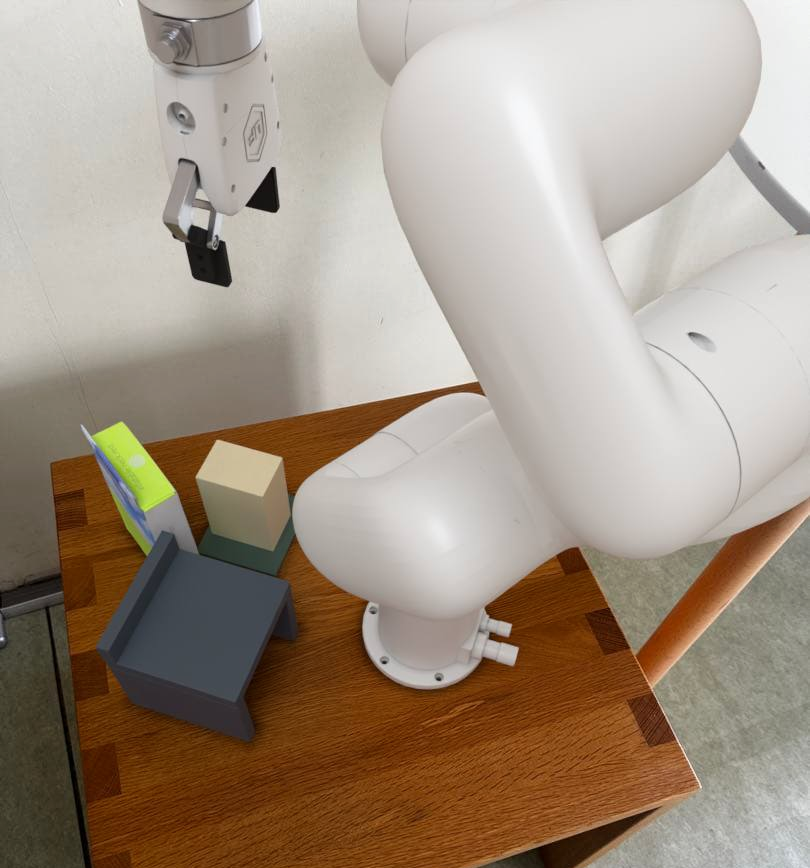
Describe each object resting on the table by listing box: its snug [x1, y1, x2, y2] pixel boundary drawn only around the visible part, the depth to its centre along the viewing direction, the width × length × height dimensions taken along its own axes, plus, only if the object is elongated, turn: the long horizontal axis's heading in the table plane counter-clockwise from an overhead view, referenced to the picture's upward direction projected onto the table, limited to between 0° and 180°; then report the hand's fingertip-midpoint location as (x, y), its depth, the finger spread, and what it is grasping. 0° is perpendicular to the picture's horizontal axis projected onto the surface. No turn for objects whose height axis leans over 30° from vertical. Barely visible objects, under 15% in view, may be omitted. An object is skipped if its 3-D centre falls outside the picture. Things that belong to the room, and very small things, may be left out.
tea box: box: [195, 439, 291, 551], centre depth 85 cm, size 5×7×10 cm
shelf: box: [95, 530, 299, 743], centre depth 75 cm, size 12×12×12 cm
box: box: [79, 420, 200, 557], centre depth 80 cm, size 10×4×17 cm, turn 39°
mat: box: [197, 493, 296, 578], centre depth 89 cm, size 9×10×1 cm
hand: (238, 243), depth 68 cm, fingers open, 9 cm apart
